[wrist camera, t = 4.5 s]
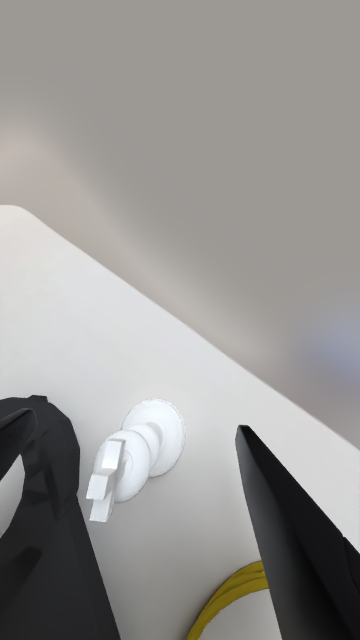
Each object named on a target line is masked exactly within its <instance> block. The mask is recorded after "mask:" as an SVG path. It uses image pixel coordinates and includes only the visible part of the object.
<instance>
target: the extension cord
mask: <svg viewBox="0 0 360 640" xmlns="http://www.w3.org/2000/svg"><path fill="white" fill-rule="evenodd" d="M263 571H264V567H263V564H262V561H259V562H256V563H253V564H250V565H248V566H247V567H245V568H243V569H241V570H239V571H238V572H237V573H235V574H234V575H233V576H231V577H230V578H229V579H228V580H227V581H226V582H225V583H224V584H223V585H222V586H221V587H220V588H219V589H218V590H217V591H216V593H215V594H214V595H213V597H212V598H211V599H210V601H209V602H208V604H207V605H206V606H205V608H204V609H203V611H202V612H201V613H200V615H199V617H198V619H197V621H196V623H195V625H194V626H193V628H192V629H191V630H190V632H189V634H188V636H187V638H186V640H199V637H200V635H201V633H202V631H203V630H204V628H205V626H206V625H207V624H208V623H209V622H210V621H211V620H212V619H213V618H214V617H215V616H216V615H217V614H218V613H219V612H220V611H221V610H222V609H223V608H225V607H226V606H228V605H229V604H231V603H232V602H233V601H235V600H237V599H239V598H241V597H243V596H245V595H247V594H249V593H252V592H256V591H260V590H263V589H269V587H268V583H267V579H266V575H265V572H263Z"/></svg>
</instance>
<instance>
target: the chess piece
mask: <svg viewBox="0 0 360 640" xmlns="http://www.w3.org/2000/svg"><path fill="white" fill-rule="evenodd" d="M184 442H185V427H184V423H183V420H182V417H181V415H180V413H179V412H178V410H177V409H176V408H175V407H174V406H173V405H172V404H171V403H169V402H167V401H165V400H162V399H148V400H145V401H143V402H141V403H139V404H138V405H136V406H135V407H134V408H133V409H132V410H131V411H130V412H129V413H128V415H127V416H126V418H125V420H124V422H123V424H122V427H121V431H118V432H115V433H114V434H112V435H111V436H109V437H108V438H107V439H106V440H105V441H104V443H103V444H102V445H101V447H100V448H99V450H98V452H97V455H96V458H95V461H94V467H93V474H92V475H91V479H90V483H89V487H88V491H87V495H86V498H88V499H94V502H93V506H92V511H91V515H90V519H89V520H91V521H99V522H106V521H107V520H108V518H109V517H110V515H111V514H112V510H113V505H114V503H121V502H125V501H128V500H130V499H131V498H133V497H134V496H135V495H136V494H138V492H139V491H140V490H141V489H142V488H143V486H144V484H145V483H146V480H147V478H152V477H157V476H160V475H162V474H164V473H166V472H167V471H168V470H169V469H171V468H172V467H173V465H174V464H175V463H176V462H177V460H178V458H179V457H180V455H181V452H182V450H183V446H184Z"/></svg>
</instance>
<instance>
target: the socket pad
mask: <svg viewBox="0 0 360 640" xmlns="http://www.w3.org/2000/svg"><path fill="white" fill-rule="evenodd" d="M24 408H27V409H33V410H34V411H35V415H36V419H37V423H38V424H37V427H36V429H35V431H34V433H33V434H32V436H31V437H30V439H29V440H28V442H27V443H26V445H25V446H24V448H23V449H22V451H21V452H20V454H21V456H22V460H23V465H24V470H25V479H24V485H23V492H22V498H21V501H20V503H19V505H18V508H17V510H16V512H15V514H14V517H13V519H12V521H11V523H10V526H9V528H8V529H7V530H6V532H5V533H4V534H3V535H2V537H1V538H0V640H120V636H119V633H118V630H117V626H116V623H115V620H114V617H113V613H112V610H111V607H110V604H109V600H108V597H107V594H106V591H105V587H104V584H103V581H102V578H101V574H100V571H99V568H98V565H97V561H96V558H95V555H94V552H93V548H92V545H91V542H90V539H89V535H88V532H87V529H86V526H85V522H84V519H83V516H82V512H81V509H80V506H79V503H78V499H77V495H76V493H77V490H78V485H79V460H80V449H79V448H80V447H79V444H78V441H77V438H76V436H75V433H74V430H73V427H72V424H71V421H70V420H69V418H67V417H66V416H65V415H64V414H63V413H62V412H61V411H60V410H59V409H57V408H56V407H55V406H54V405H53V404H51V403H49V402H48V401H47V397H46V396H38V395H32V396H30V397H28V398H17V397H11V398H7V399H2V400H0V419H2V418H4V417H6V416H8V415H10V414H12V413H14V412H16V411H18V410H20V409H24Z"/></svg>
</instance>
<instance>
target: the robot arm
mask: <svg viewBox="0 0 360 640" xmlns="http://www.w3.org/2000/svg"><path fill="white" fill-rule="evenodd" d="M37 424H38V423H37V419H36V415H35V411H34V410H33V409H27V408H24V409H20V410H18V411H16V412H14V413H12V414H10V415H8V416H6V417H4V418H2V419H0V481H1V480H2V478H3V477H4V476H5V474H6V473H7V472H8V470H9V469H10V467H11V466H12V464H13V463H14V461H15V460H16V458H17V457H18V455H19V454H20V452H21V451H22V449H23V448H24V446H25V445H26V443H27V442H28V440H29V439H30V437H31V436H32V434H33V433H34V431H35V429H36V427H37ZM235 444H236V450H237V456H238V462H239V467H240V473H241V479H242V485H243V490H244V494H245V498H246V502H247V506H248V510H249V514H250V518H251V522H252V525H253V529H254V533H255V537H256V541H257V544H258V548H259V552H260V556H261V560H262V564H263V567H264V571H265V575H266V579H267V583H268V587H269V590H270V594H271V598H272V602H273V606H274V610H275V613H276V617H277V621H278V625H279V629H280V633H281V636H282V640H360V553H359V552H358V551H357V550H356V549H355V548H354V547H353V545H352V544H351V543H350V542H349V541H348V540H347V538H345V537H343V535H342V533H341V532H340V531H339V529H338V528H337V527H336V526H335V525H334V524H333V522H332V521H331V520H330V519H329V518H328V517H327V516H326V514H325V513H324V512H323V511H322V510H321V509H320V507H319V506H318V505H317V504H316V503H315V502H314V500H313V499H312V498H311V497H310V496H309V495H308V494H307V492H306V491H305V490H304V489H303V488H302V487H301V485H300V484H299V483H298V482H297V481H296V480H295V479H294V477H293V476H292V475H291V474H290V473H289V472H288V470H287V469H286V468H285V467H284V466H283V465H282V464H281V462H280V461H279V460H278V459H277V458H276V457H275V455H274V454H273V453H272V452H271V451H270V450H269V449H268V447H267V446H266V445H265V444H264V443H263V442H262V440H261V439H260V438H259V437H258V436H257V435H256V434H255V432H254V431H253V430H252V429H251V428H250V427H249V426H248V425H239V426H238V428H237V433H236V438H235Z"/></svg>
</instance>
